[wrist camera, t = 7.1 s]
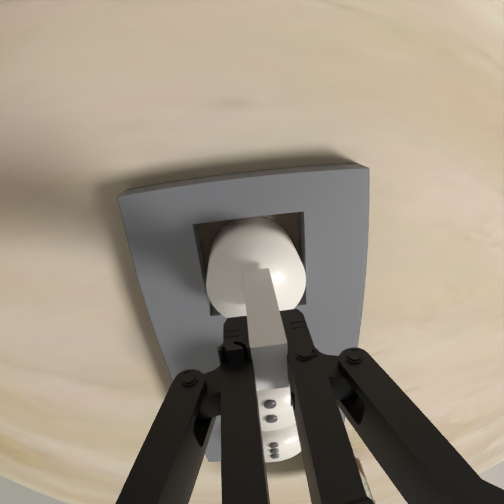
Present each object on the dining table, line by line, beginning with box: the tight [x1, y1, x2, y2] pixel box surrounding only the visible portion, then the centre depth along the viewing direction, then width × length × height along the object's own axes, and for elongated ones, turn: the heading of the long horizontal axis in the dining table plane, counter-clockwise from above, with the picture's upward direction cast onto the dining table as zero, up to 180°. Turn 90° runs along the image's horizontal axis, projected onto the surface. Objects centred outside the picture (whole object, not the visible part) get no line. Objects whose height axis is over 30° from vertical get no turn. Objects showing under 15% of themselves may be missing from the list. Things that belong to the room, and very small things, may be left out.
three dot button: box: [261, 424, 301, 462], centre depth 29 cm, size 6×6×4 cm
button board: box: [118, 163, 369, 462], centre depth 26 cm, size 32×16×2 cm, turn 6°
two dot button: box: [257, 386, 296, 431], centre depth 23 cm, size 6×6×4 cm
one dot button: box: [206, 217, 306, 318], centre depth 20 cm, size 6×6×4 cm
